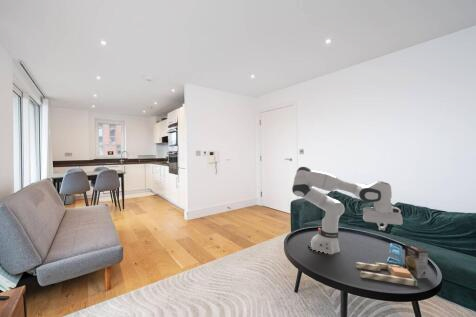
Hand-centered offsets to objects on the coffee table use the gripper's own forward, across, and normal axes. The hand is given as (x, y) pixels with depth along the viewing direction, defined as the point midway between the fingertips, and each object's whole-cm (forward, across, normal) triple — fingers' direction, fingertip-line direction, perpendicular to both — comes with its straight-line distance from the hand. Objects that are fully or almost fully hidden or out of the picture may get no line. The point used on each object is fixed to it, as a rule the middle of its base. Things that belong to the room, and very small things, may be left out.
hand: (381, 229), depth 129 cm
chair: (+26, +12, +15) cm, 33 cm away
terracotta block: (+26, +8, -5) cm, 28 cm away
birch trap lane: (+26, 0, -4) cm, 26 cm away
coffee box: (+26, +19, +3) cm, 32 cm away
